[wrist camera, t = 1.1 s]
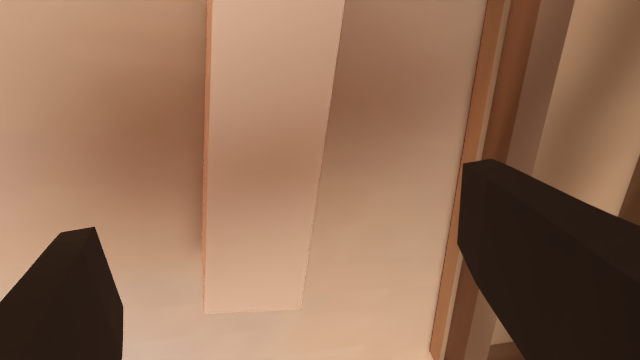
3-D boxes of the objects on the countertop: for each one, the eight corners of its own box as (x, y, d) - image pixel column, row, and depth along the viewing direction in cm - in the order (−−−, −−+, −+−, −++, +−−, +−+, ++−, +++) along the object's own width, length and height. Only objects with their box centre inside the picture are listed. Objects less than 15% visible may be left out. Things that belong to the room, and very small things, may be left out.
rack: (762, -172, 16) (846, -172, 14) (582, 327, 27) (615, 370, 25) (517, -177, 15) (570, -177, 13) (429, 350, 25) (451, 397, 23)
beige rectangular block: (326, -127, 15) (361, -115, 12) (284, 240, 21) (301, 309, 18) (210, -142, 14) (216, -134, 11) (201, 242, 20) (203, 314, 17)
